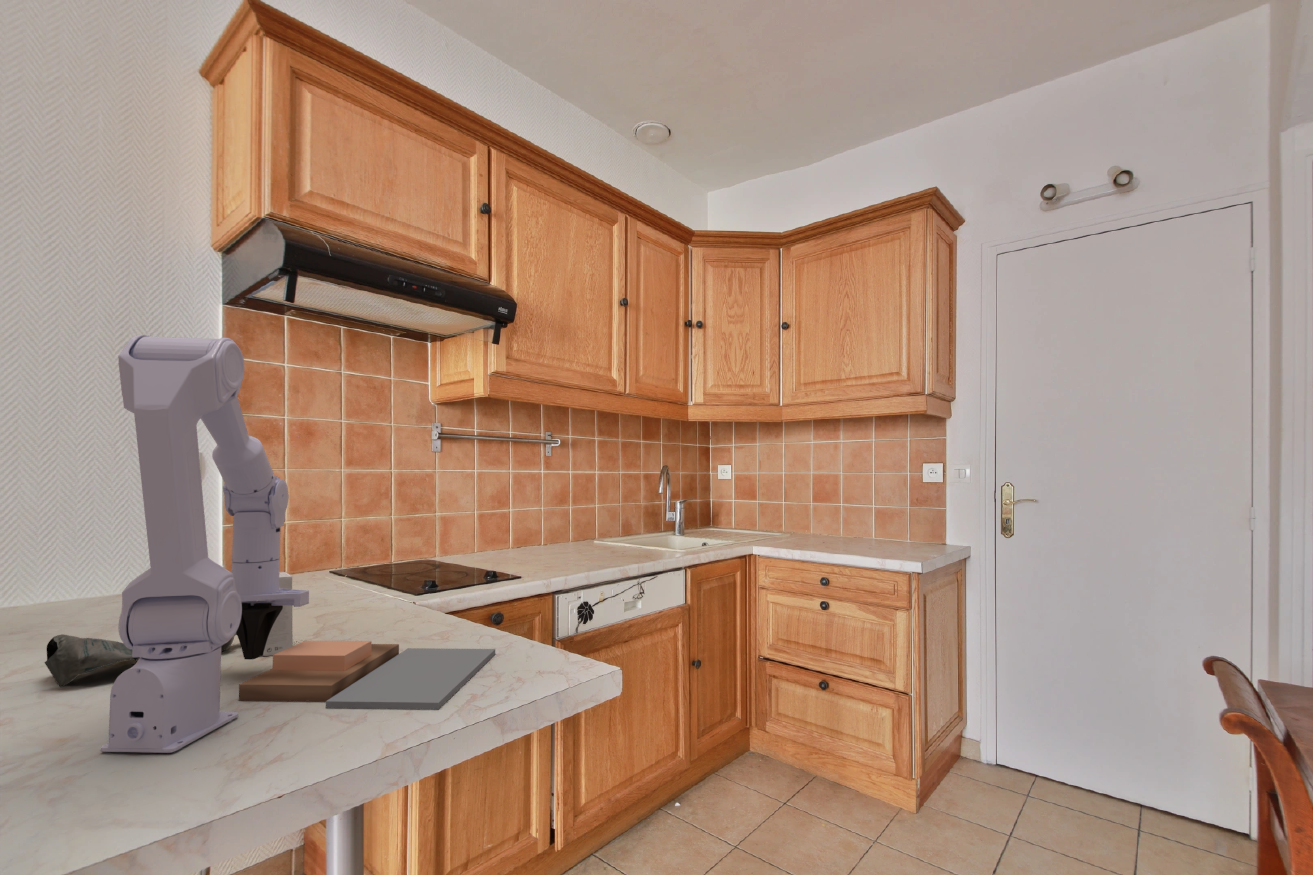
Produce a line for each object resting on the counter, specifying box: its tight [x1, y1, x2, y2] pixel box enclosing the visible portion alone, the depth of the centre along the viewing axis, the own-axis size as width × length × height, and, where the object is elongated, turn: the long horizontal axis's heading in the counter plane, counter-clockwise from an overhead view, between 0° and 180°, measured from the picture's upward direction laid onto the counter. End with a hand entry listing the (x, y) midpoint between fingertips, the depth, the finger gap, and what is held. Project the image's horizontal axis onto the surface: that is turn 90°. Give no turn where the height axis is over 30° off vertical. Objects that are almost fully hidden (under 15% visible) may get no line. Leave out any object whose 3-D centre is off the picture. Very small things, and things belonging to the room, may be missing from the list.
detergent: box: [44, 633, 237, 687], centre depth 92 cm, size 13×7×25 cm
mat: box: [325, 647, 496, 710], centre depth 85 cm, size 22×14×1 cm, turn 177°
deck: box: [238, 643, 400, 703], centre depth 86 cm, size 18×12×2 cm, turn 177°
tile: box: [271, 640, 372, 671], centre depth 86 cm, size 7×10×2 cm
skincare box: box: [263, 571, 294, 657], centre depth 99 cm, size 6×4×12 cm
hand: (253, 657), depth 86 cm, fingers closed
